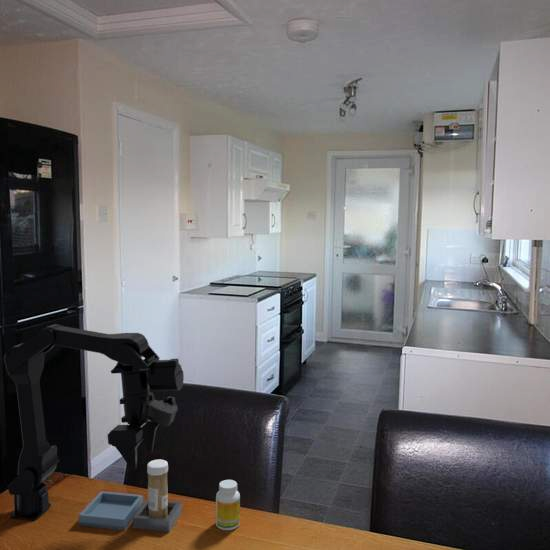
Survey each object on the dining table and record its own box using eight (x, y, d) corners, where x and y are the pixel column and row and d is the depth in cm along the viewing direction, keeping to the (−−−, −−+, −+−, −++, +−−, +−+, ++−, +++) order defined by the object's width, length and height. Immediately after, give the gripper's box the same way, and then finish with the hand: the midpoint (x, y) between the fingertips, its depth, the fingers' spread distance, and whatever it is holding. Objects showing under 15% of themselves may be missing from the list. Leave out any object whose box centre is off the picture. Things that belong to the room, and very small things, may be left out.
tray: (79, 525, 119) (78, 514, 118) (101, 501, 129) (101, 491, 129) (124, 530, 117) (124, 519, 117) (143, 505, 127) (143, 495, 127)
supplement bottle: (213, 520, 122) (213, 479, 121) (236, 516, 124) (236, 476, 123) (219, 533, 117) (219, 491, 116) (242, 528, 118) (243, 487, 118)
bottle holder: (132, 528, 118) (132, 517, 118) (147, 508, 126) (147, 498, 126) (169, 532, 117) (169, 521, 116) (181, 511, 125) (181, 501, 125)
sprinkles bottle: (171, 521, 121) (171, 464, 119) (151, 527, 118) (151, 469, 117) (163, 512, 125) (163, 456, 123) (144, 518, 122) (144, 461, 121)
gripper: (155, 404, 107) (161, 479, 108) (184, 379, 126) (189, 443, 127) (103, 405, 109) (110, 479, 110) (139, 380, 127) (145, 444, 128)
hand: (142, 460), depth 119 cm, fingers open, 9 cm apart
